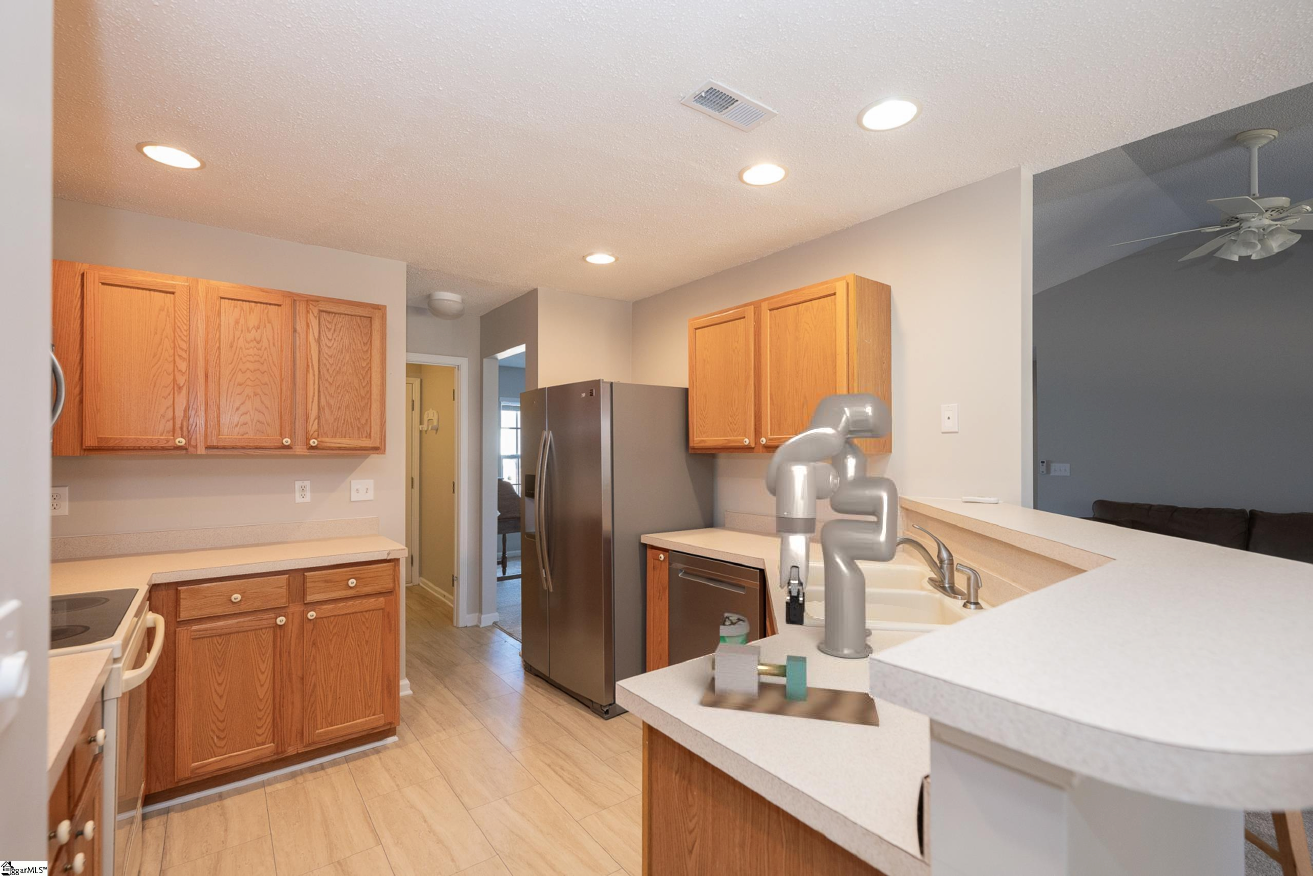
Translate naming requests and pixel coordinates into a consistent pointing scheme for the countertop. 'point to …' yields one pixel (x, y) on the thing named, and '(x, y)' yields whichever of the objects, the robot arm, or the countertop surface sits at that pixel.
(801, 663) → the brass rod with block
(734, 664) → the block
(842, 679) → the countertop surface
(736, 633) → the food container
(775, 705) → the walnut board
